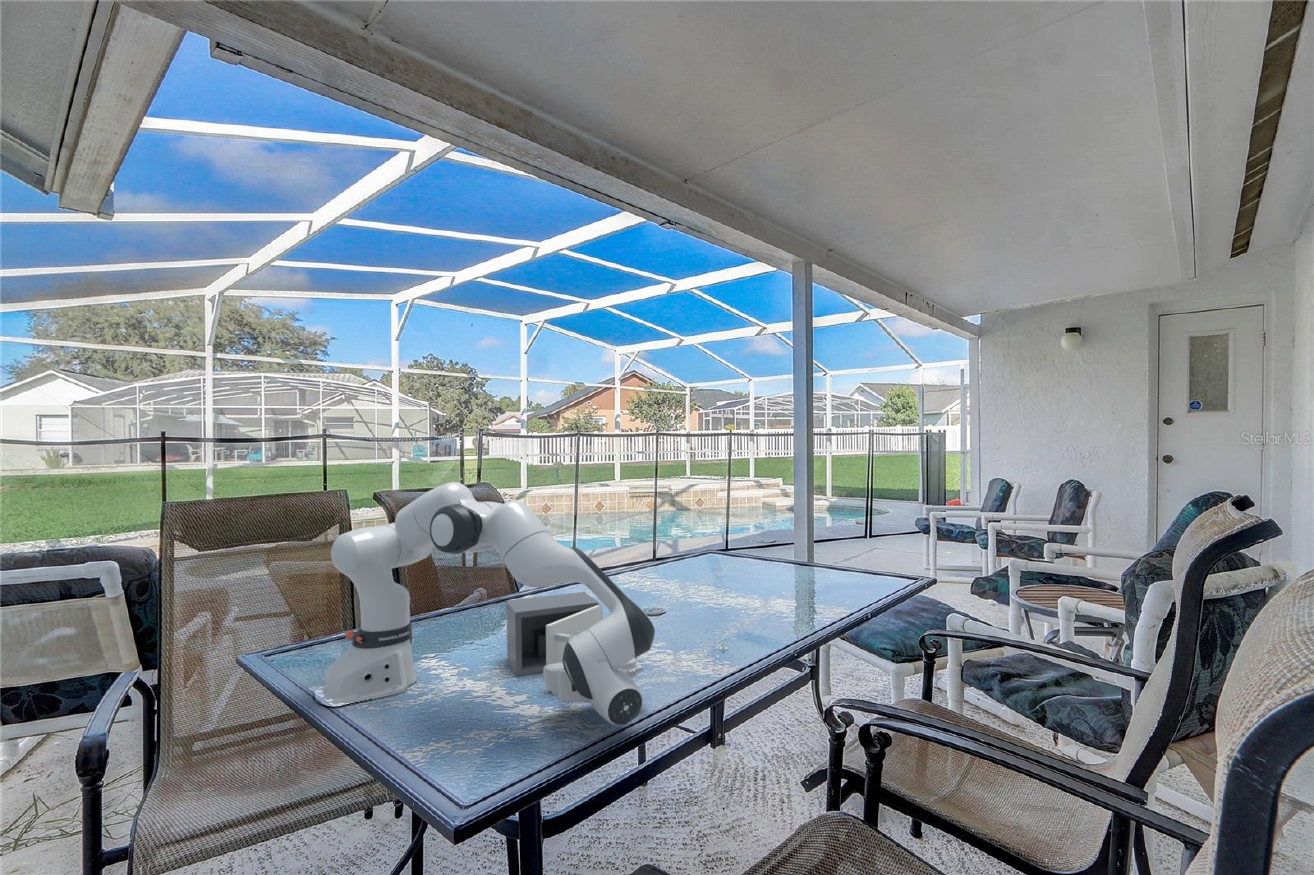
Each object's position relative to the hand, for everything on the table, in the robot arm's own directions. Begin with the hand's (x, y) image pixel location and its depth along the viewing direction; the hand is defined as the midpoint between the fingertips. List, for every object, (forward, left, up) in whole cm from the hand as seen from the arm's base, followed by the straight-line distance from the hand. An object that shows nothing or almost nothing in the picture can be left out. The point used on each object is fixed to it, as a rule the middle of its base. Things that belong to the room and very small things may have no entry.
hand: (581, 659), depth 135 cm
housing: (+9, +25, -8) cm, 28 cm away
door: (+7, +8, -8) cm, 13 cm away
